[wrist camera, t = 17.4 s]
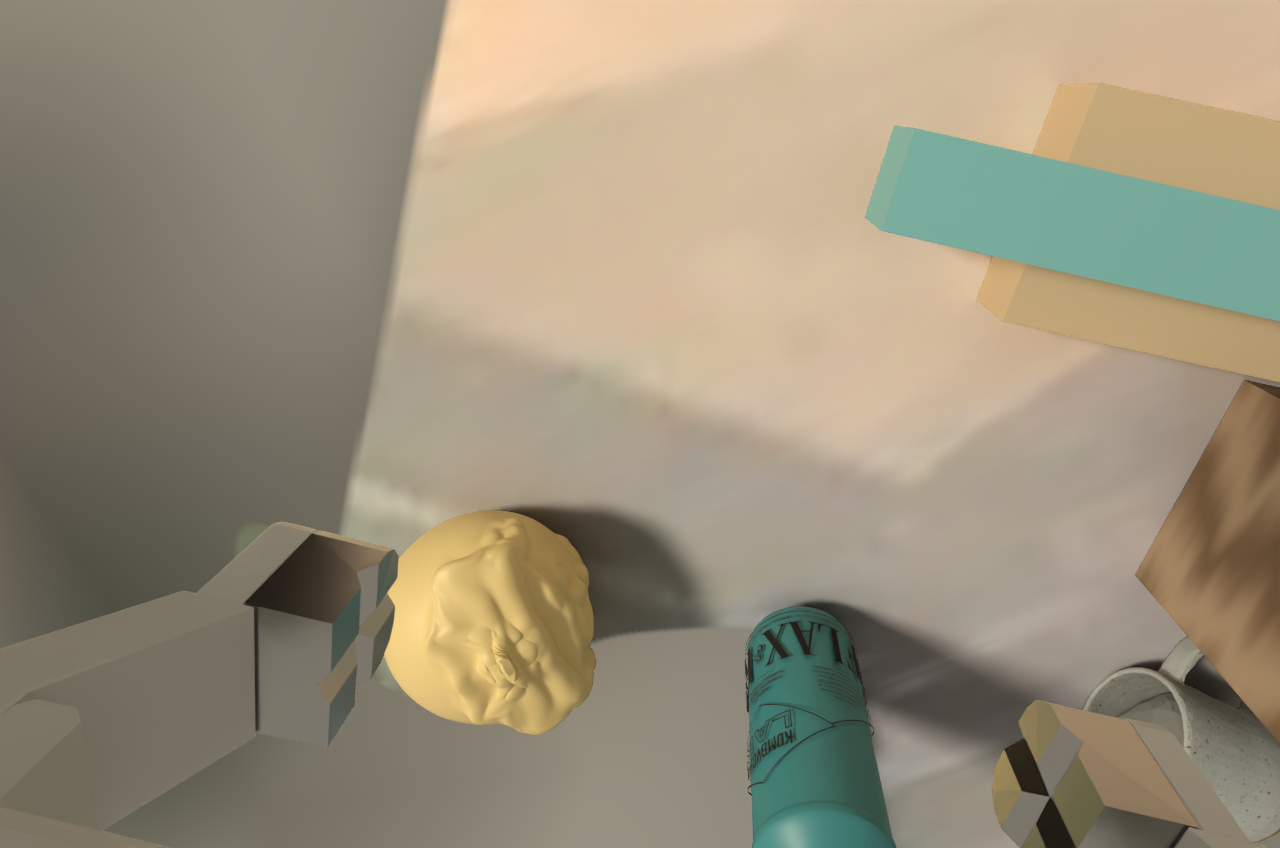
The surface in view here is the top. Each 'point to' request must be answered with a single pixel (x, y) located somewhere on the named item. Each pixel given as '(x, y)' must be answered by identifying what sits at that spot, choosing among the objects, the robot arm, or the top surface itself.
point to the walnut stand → (1230, 552)
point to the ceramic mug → (1204, 735)
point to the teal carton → (1079, 221)
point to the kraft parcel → (1163, 153)
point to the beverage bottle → (811, 737)
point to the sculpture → (493, 623)
